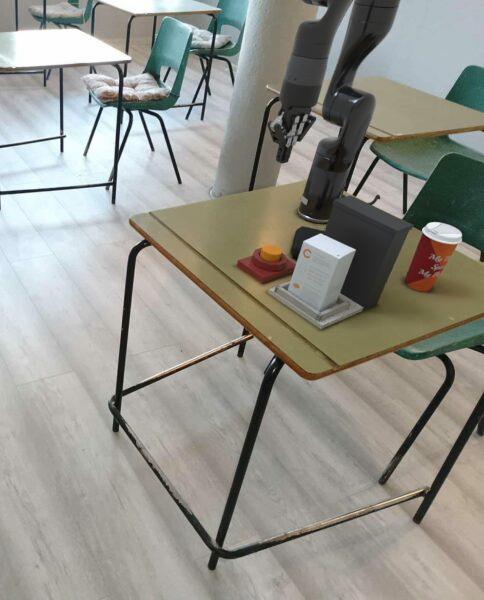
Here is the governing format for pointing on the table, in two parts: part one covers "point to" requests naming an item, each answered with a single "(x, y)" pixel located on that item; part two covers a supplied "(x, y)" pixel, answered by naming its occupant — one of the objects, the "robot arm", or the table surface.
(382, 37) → the robot arm
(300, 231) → the carrying case
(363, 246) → the coffee dock
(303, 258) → the small box
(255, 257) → the button panel
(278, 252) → the button
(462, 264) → the table surface
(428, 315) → the table surface
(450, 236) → the paper cup
